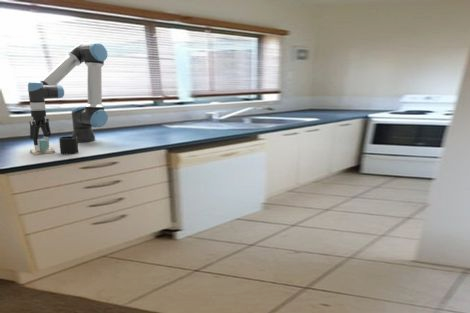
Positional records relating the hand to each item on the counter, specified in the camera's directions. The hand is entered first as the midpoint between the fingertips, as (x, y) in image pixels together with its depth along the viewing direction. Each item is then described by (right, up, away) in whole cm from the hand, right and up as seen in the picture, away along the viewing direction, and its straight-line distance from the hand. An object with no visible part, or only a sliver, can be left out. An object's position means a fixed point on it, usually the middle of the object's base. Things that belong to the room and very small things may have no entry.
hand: (42, 149), depth 209 cm
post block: (0, -2, 0) cm, 2 cm away
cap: (0, -1, 0) cm, 1 cm away
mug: (+15, -2, +1) cm, 15 cm away
